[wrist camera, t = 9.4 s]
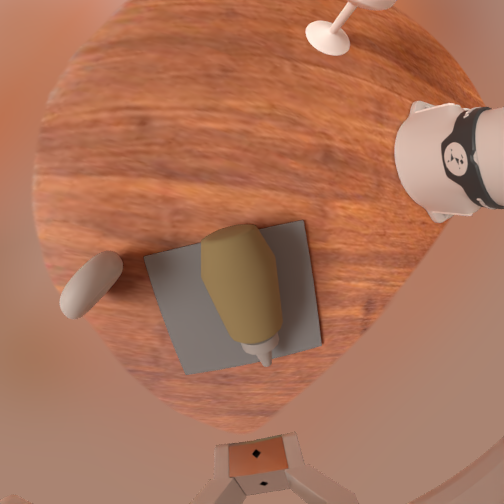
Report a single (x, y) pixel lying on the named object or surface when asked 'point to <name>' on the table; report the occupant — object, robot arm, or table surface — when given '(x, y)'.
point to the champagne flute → (339, 27)
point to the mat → (207, 317)
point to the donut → (90, 284)
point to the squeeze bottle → (244, 287)
